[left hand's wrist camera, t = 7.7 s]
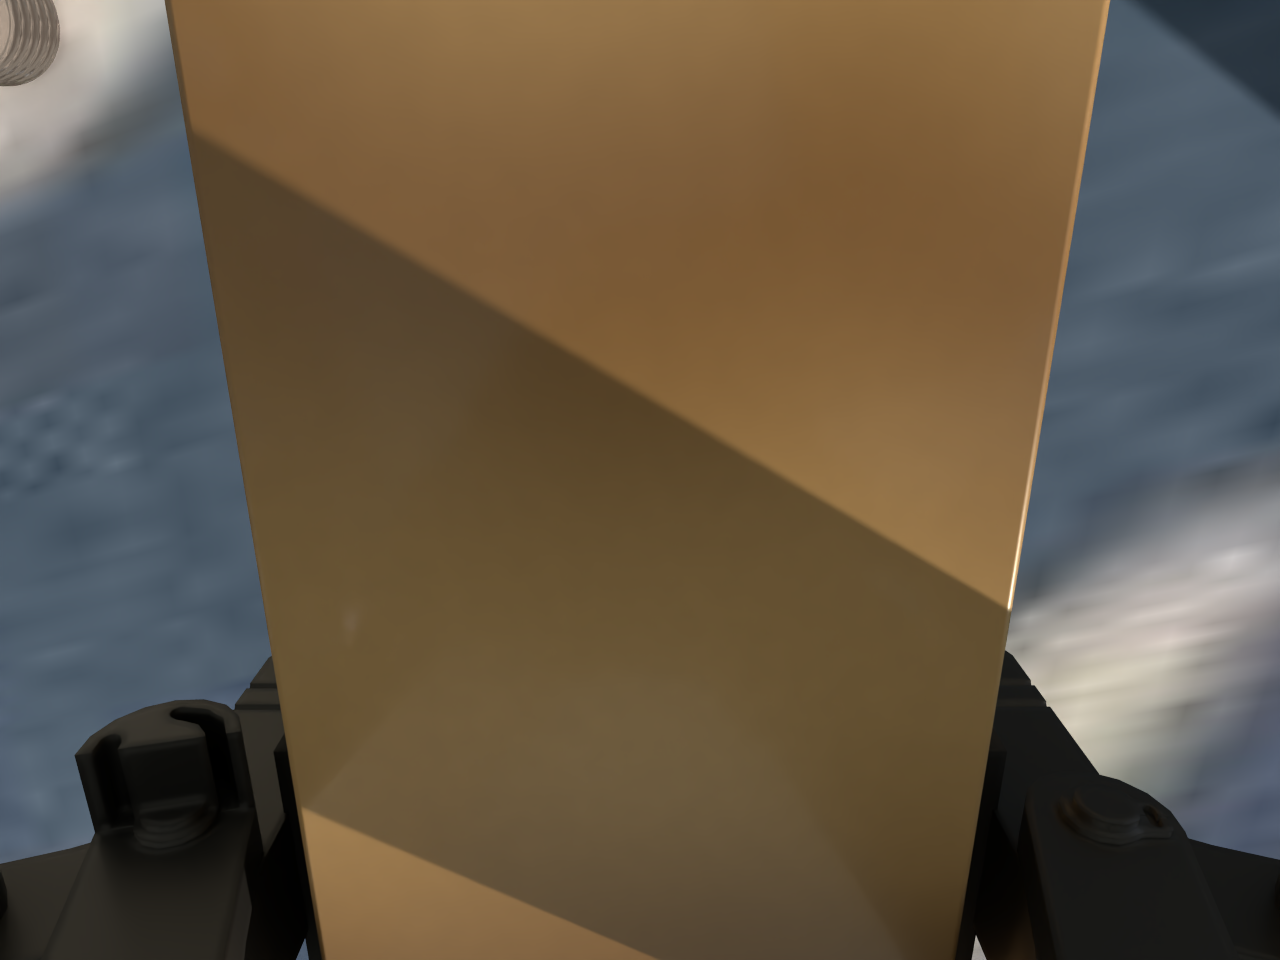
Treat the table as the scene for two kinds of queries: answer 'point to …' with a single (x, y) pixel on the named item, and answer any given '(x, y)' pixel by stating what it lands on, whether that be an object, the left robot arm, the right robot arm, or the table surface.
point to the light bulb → (27, 39)
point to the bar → (637, 448)
